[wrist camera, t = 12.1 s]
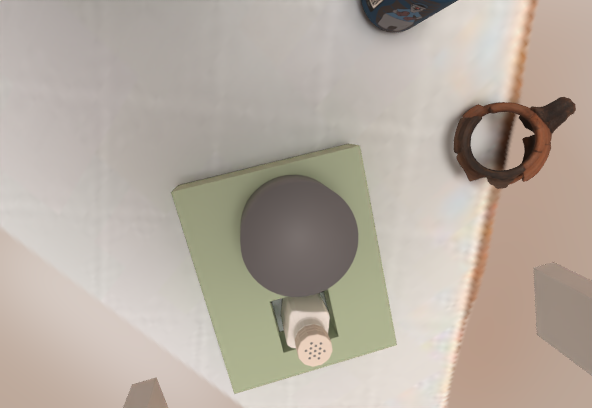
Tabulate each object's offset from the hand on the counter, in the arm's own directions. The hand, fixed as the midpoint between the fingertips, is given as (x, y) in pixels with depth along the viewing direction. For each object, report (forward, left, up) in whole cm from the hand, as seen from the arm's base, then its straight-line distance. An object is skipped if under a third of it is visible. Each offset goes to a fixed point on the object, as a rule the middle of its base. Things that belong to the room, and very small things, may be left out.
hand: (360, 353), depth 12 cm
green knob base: (+7, -1, -28) cm, 29 cm away
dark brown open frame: (0, +25, -28) cm, 37 cm away
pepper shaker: (+12, -1, -28) cm, 30 cm away
